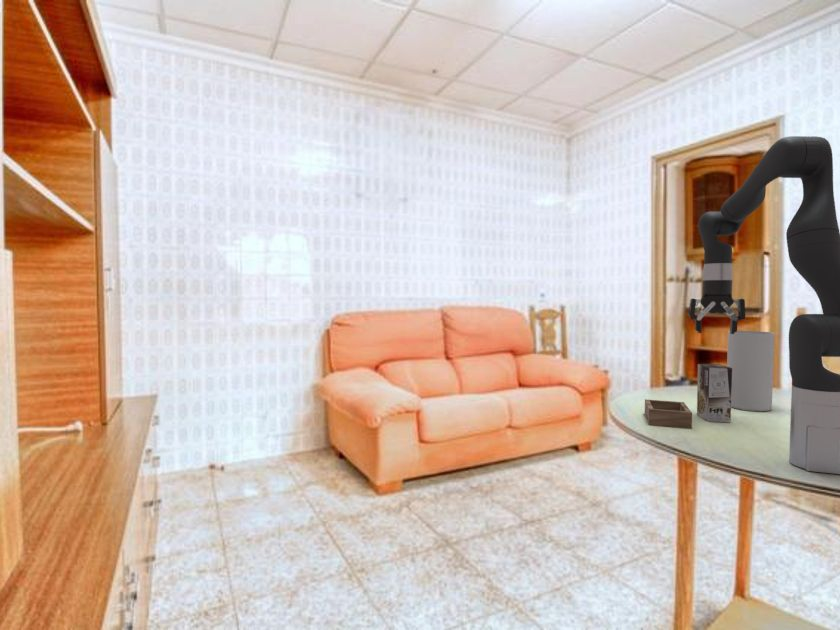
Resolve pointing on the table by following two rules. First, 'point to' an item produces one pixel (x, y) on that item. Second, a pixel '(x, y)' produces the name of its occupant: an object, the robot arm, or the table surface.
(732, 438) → the table surface
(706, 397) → the coffee box
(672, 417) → the brown wooden tray
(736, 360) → the cylinder vase
